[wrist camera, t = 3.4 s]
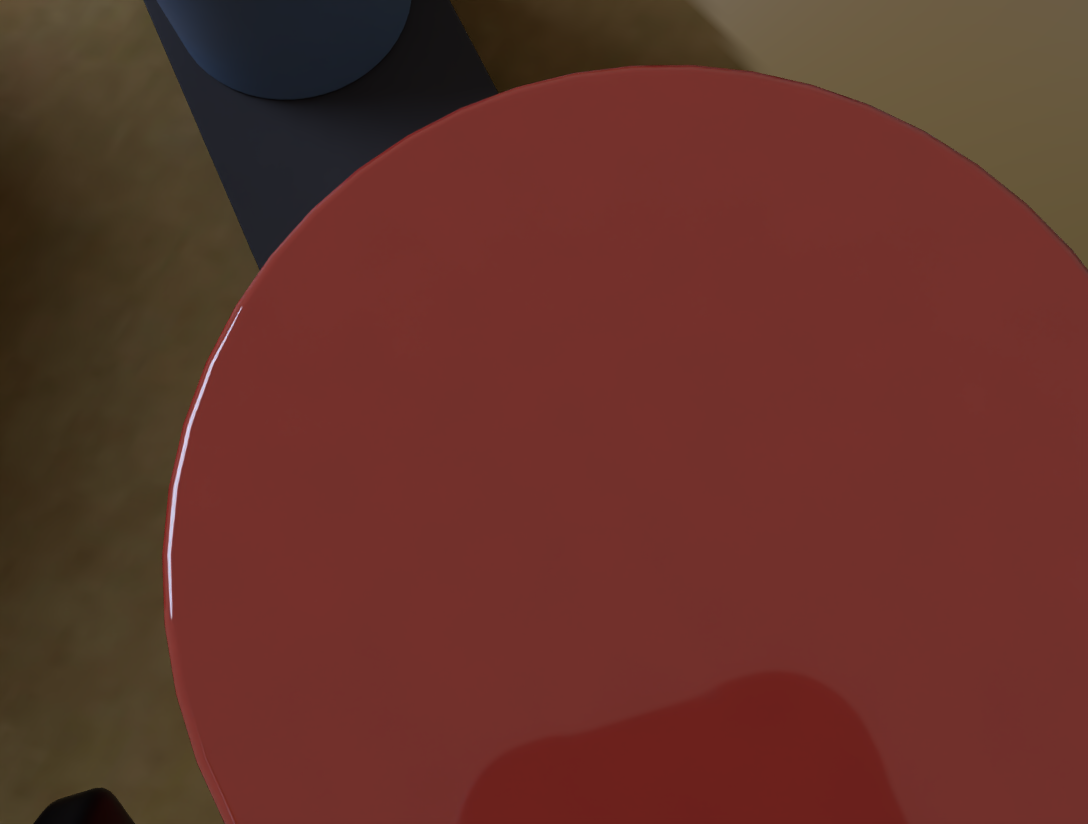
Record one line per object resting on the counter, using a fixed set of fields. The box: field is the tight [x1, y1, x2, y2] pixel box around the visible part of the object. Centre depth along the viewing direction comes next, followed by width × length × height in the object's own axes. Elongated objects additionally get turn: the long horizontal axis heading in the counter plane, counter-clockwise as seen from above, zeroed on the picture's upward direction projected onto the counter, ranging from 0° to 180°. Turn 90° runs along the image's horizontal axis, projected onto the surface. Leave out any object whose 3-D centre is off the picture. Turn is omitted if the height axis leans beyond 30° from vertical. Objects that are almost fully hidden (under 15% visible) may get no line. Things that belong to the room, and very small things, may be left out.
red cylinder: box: [162, 65, 1088, 824], centre depth 10 cm, size 5×5×12 cm
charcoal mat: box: [144, 0, 498, 270], centre depth 18 cm, size 19×6×1 cm, turn 26°
